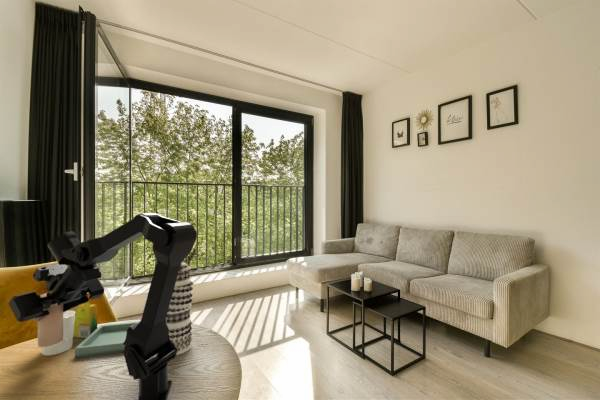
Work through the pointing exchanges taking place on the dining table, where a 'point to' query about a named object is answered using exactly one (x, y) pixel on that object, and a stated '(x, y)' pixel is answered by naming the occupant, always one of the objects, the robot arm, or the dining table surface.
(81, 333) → the crayon box
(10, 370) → the dining table surface
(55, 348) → the white cup
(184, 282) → the decorative candle
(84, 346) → the tray
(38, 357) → the dining table surface
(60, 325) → the peach rounded cone
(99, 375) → the dining table surface
